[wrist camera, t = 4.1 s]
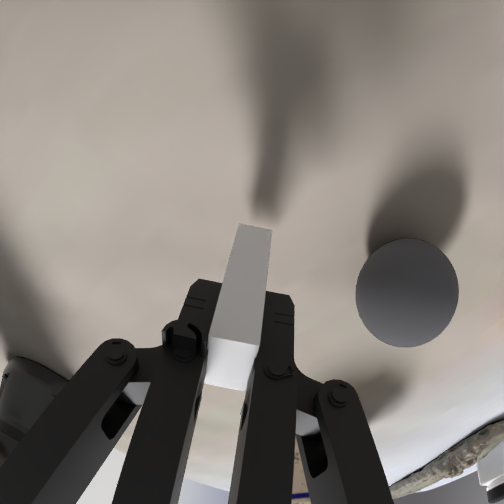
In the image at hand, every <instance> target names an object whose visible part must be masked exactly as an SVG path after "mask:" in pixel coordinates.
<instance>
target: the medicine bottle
mask: <svg viewBox="0 0 504 504" xmlns="http://www.w3.org/2000/svg"><path fill="white" fill-rule="evenodd" d="M476 465H477V470H478V476H479V481H480V485H486V486H488V488H487V495H488V502H489V503H495V502H498V501H500V500H503V499H504V440H503V441H501V442H500V443H499V444H498V445H497V446H496V447H495V448H494V449H493V450H491V451H490V452H489V453H488V455H487V456H486V457H484V458H482V459H480V460H479V461H478V462H476Z"/></svg>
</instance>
